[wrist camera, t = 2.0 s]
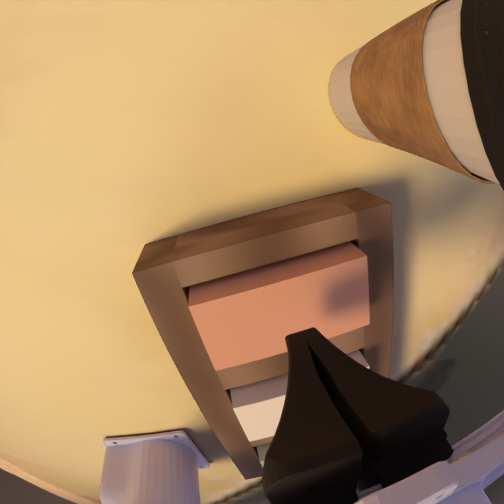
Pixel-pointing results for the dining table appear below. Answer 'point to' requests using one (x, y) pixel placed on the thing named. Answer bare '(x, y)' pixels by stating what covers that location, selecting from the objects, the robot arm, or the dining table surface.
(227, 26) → the dining table surface
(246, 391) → the cream button
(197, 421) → the dining table surface
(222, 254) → the button board
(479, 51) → the coffee cup
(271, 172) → the dining table surface
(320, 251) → the terracotta button
